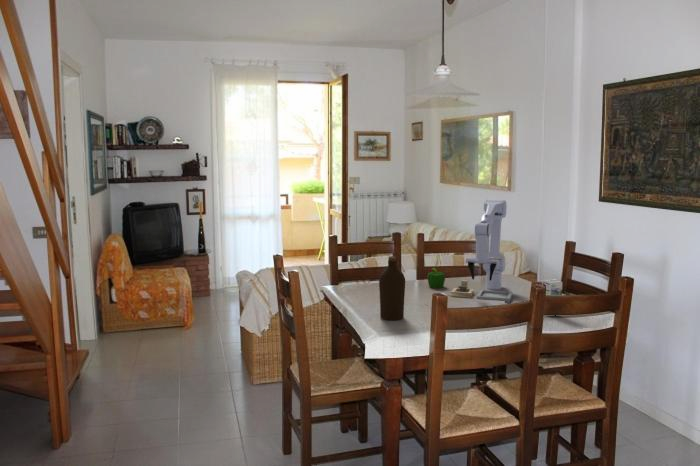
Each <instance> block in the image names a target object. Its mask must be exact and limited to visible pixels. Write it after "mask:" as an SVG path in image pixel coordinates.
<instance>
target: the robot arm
mask: <svg viewBox="0 0 700 466" xmlns="http://www.w3.org/2000/svg"><path fill="white" fill-rule="evenodd" d="M507 205H508V204H507V201H506V200H505V199H503V200H502V199H500V200H499V199H485V200H484V202H483V212H484V214H482V215H481V217H480V220H479V221H478V222H477V223H476V224H475V226H474V239H475V241H476V242H475V258H467V257H466V258H465V264H467V267H468V269H469V272H470V275H471V279H472V280H475V264H477V265H478V264H481V265H482V268H483V271H484V272H485V273H486V274H485V276H486V277H485V289H486V290H494V291H499V290H501V289H502V288H504V287H503V286H502V273H503V272H504V271H505V269H506V257H505V255H504V254H503V253H502V252H501V250H500V249H501V231H502V221H503V219H504V218H506V215H507Z"/></svg>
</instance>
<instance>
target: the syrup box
mask: <svg viewBox="0 0 700 466" xmlns="http://www.w3.org/2000/svg"><path fill="white" fill-rule="evenodd" d="M543 283H544V284H545V285H546V295H562V296H563V281H562V280H560V279H555V278H554V279H542V284H543Z"/></svg>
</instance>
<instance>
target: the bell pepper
mask: <svg viewBox="0 0 700 466" xmlns="http://www.w3.org/2000/svg"><path fill="white" fill-rule="evenodd" d="M431 270H432V271H431V272H428V273H427V283H428V286H429V288H432V289H442V288H443V287H444V285H445V282H446V274H445V273H444V272H441V271H438V270H437V269H436V268H435V267H433V268H431Z"/></svg>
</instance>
